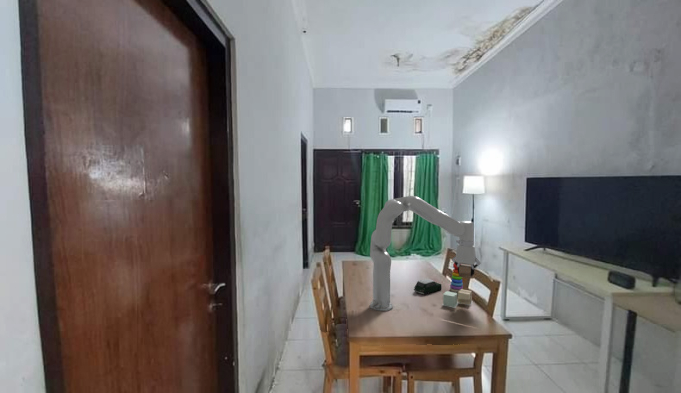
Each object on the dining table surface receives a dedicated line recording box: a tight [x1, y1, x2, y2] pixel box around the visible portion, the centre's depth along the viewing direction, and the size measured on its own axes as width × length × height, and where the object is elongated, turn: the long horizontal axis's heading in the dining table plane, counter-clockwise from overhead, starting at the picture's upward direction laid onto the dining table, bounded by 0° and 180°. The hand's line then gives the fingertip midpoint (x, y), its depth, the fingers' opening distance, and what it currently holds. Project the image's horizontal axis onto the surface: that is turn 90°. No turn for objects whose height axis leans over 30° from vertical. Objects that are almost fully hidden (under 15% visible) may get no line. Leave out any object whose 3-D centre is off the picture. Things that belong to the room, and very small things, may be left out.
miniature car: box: [413, 278, 443, 296], centre depth 192 cm, size 9×18×8 cm, turn 123°
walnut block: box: [459, 263, 473, 280], centre depth 173 cm, size 6×6×6 cm
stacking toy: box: [449, 262, 464, 293], centre depth 192 cm, size 8×8×19 cm
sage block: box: [442, 290, 458, 308], centre depth 171 cm, size 6×6×6 cm
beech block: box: [457, 289, 473, 306], centre depth 174 cm, size 6×6×6 cm
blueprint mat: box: [441, 300, 474, 309], centre depth 171 cm, size 20×17×1 cm
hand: (465, 274), depth 173 cm, fingers closed on walnut block, 6 cm apart
